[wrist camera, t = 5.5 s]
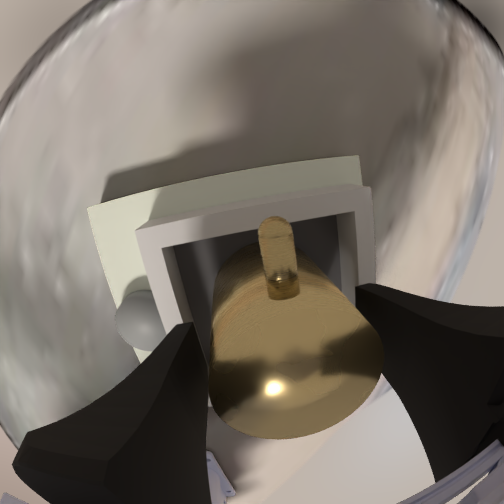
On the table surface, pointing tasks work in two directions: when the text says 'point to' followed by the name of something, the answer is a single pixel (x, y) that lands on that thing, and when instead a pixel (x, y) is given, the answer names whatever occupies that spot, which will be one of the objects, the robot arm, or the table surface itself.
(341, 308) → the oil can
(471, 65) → the table surface
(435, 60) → the table surface
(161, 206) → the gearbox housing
